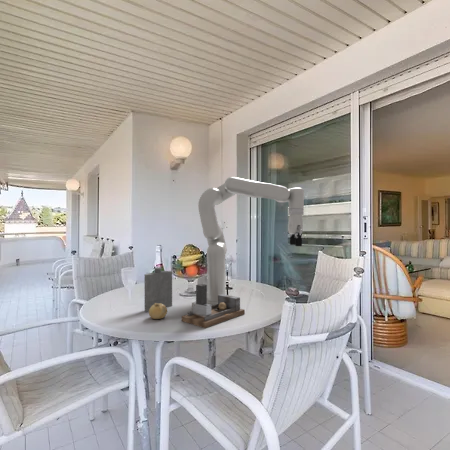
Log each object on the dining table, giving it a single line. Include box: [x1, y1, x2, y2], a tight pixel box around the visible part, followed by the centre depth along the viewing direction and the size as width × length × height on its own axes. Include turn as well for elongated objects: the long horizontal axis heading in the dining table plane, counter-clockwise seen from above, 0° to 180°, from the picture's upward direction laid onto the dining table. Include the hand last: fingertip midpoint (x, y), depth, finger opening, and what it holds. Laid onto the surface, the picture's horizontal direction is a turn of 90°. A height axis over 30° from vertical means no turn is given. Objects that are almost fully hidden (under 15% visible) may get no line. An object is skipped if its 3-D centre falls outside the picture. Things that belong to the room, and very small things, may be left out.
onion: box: [148, 303, 168, 320], centre depth 141 cm, size 8×8×7 cm
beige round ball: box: [219, 302, 226, 310], centre depth 147 cm, size 4×4×4 cm
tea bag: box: [196, 275, 207, 285], centre depth 196 cm, size 4×7×10 cm, turn 39°
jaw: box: [191, 284, 212, 317], centre depth 136 cm, size 9×3×13 cm, turn 49°
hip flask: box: [144, 266, 173, 313], centre depth 157 cm, size 16×4×20 cm, turn 139°
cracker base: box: [181, 294, 246, 329], centre depth 142 cm, size 14×26×8 cm, turn 139°
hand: (295, 245), depth 165 cm, fingers open, 9 cm apart
